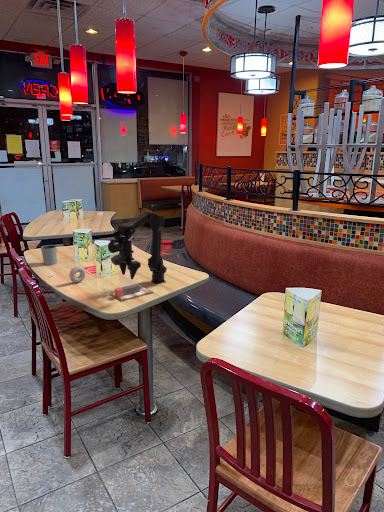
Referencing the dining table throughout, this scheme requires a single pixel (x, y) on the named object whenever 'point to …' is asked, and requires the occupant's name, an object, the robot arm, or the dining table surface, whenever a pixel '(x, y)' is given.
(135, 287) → the marker
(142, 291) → the picture frame
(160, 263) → the robot arm
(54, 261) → the gray cup
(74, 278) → the donut
